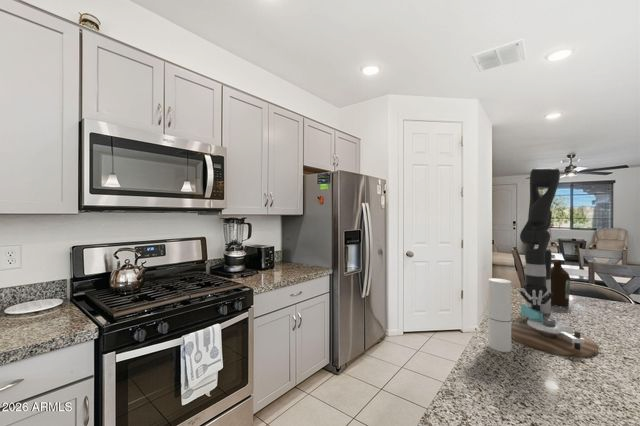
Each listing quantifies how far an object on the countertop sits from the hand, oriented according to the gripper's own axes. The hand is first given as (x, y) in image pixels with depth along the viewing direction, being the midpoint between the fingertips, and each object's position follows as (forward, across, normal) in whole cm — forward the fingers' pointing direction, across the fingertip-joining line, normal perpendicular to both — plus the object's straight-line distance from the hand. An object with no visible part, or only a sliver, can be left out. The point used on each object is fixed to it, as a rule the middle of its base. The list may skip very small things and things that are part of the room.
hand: (535, 312), depth 126 cm
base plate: (+6, 0, -14) cm, 15 cm away
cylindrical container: (+6, -21, -28) cm, 35 cm away
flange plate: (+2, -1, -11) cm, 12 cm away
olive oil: (+8, +26, +44) cm, 52 cm away
